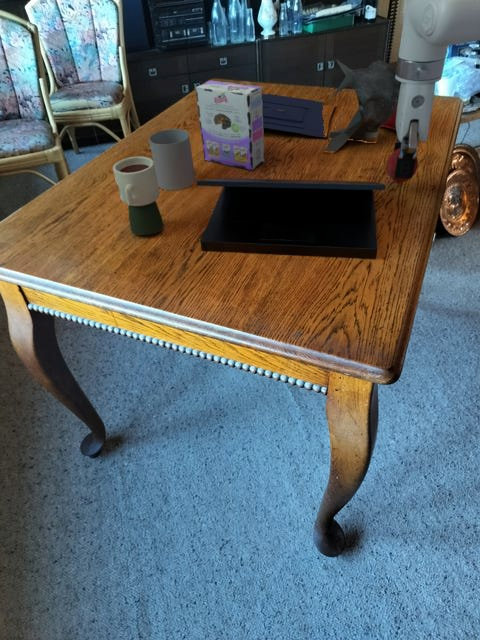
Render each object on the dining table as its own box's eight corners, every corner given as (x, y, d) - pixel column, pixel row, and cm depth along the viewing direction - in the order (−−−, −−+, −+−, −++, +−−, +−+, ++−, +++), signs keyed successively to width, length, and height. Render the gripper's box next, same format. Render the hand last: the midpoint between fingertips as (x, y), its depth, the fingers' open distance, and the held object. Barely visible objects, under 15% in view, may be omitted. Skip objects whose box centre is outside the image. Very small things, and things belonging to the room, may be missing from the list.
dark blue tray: (233, 99, 138) (234, 86, 136) (334, 114, 134) (337, 101, 131) (210, 131, 121) (210, 116, 118) (325, 149, 117) (327, 134, 114)
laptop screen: (385, 190, 72) (386, 184, 71) (196, 186, 77) (196, 180, 76) (373, 186, 92) (373, 181, 92) (224, 182, 97) (224, 178, 97)
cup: (176, 194, 99) (169, 147, 92) (149, 184, 103) (140, 139, 96) (202, 178, 104) (197, 133, 97) (175, 170, 108) (168, 126, 101)
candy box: (265, 161, 108) (263, 85, 97) (252, 171, 105) (248, 94, 94) (217, 151, 114) (210, 78, 103) (203, 160, 111) (194, 86, 100)
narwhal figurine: (389, 158, 106) (403, 71, 93) (322, 152, 110) (327, 68, 98) (395, 133, 115) (409, 52, 103) (334, 129, 120) (339, 51, 107)
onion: (386, 175, 96) (392, 136, 90) (415, 178, 94) (423, 139, 88) (381, 188, 92) (387, 148, 86) (411, 191, 90) (419, 151, 85)
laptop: (375, 259, 78) (377, 248, 76) (201, 250, 83) (200, 240, 81) (372, 195, 94) (373, 185, 92) (225, 191, 99) (224, 182, 97)
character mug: (138, 215, 94) (123, 151, 85) (172, 215, 93) (160, 151, 84) (121, 245, 86) (102, 179, 77) (159, 246, 85) (144, 179, 76)
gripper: (451, 83, 72) (426, 191, 84) (436, 54, 84) (417, 152, 96) (400, 84, 73) (383, 190, 85) (393, 55, 86) (379, 151, 98)
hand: (401, 169), depth 91 cm, fingers closed on onion, 6 cm apart
